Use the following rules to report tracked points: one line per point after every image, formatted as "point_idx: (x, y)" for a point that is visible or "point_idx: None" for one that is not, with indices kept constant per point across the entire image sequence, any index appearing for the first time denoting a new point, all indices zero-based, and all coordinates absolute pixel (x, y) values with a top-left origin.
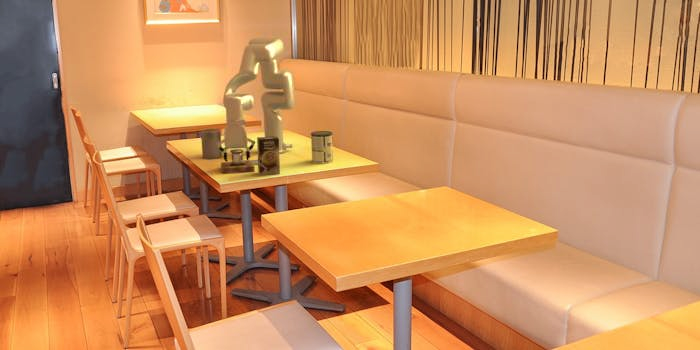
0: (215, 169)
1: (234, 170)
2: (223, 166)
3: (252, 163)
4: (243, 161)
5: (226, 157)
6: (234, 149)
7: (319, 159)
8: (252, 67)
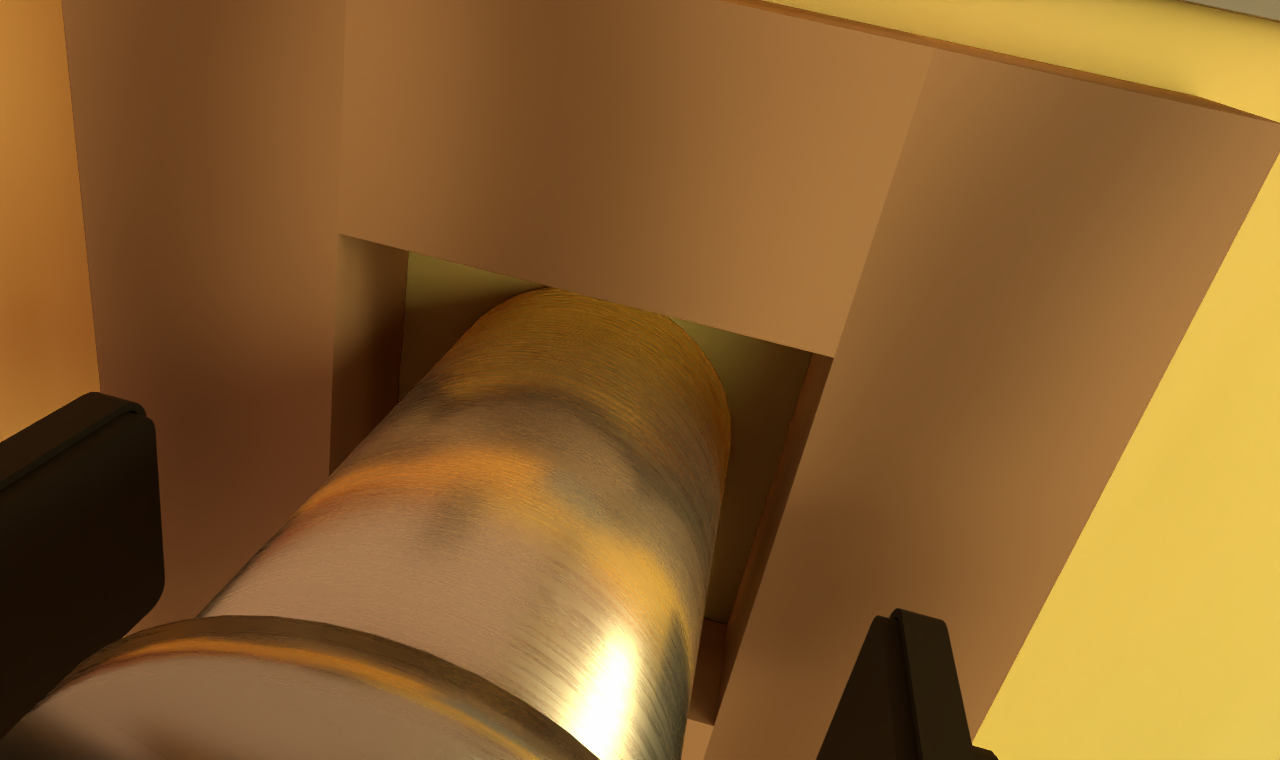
0: (31, 89)
1: None
2: None
3: (1017, 639)
4: (897, 163)
5: (43, 696)
6: (206, 728)
7: None
8: None
